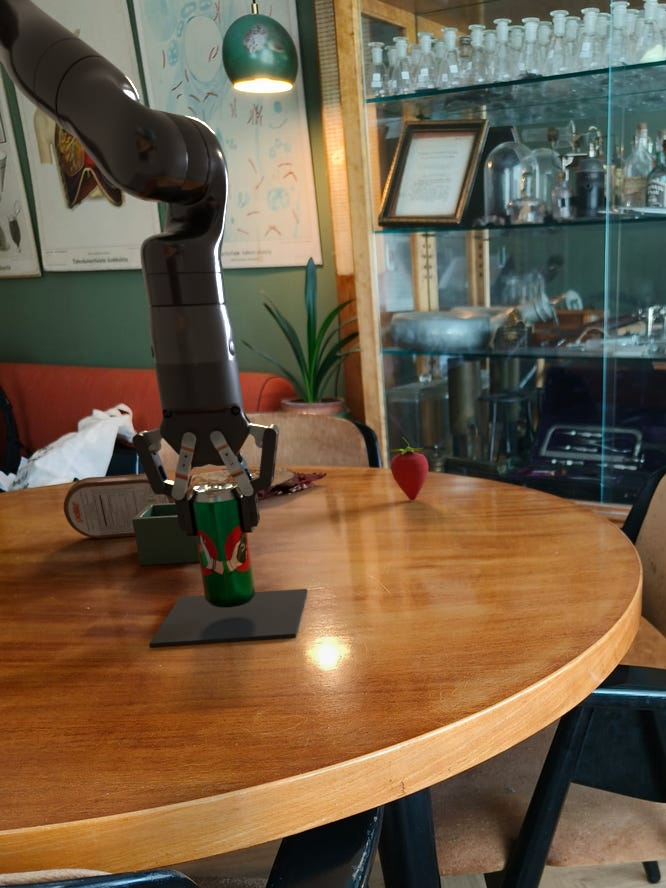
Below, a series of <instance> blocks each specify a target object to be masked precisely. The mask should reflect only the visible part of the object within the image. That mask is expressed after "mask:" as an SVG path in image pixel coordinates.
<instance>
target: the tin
mask: <svg viewBox="0 0 666 888" xmlns="http://www.w3.org/2000/svg"><path fill="white" fill-rule="evenodd" d="M164 503H175V501H174V499H173V498H172V497H170V496H167V495H163V494H161V495H157V494H155V493H154V492H153V490H152V488H151V486H150V483H149V481H148V478H147V476H146V474H145V473H144V474H143V473H142V474H141V473H140V474H125V475H109V476H90V477H85V478H82V479H80V480H77V481H76V482H75V483H73V484H72V485H71V486H70V488H69V489H68V491H67V493H66V496H65V497H64V501H63V513H64V517H65V519H66V520H67V522H68V524H69V525H70V527H72V529H73V530H75V532H77V533H79V534H81V535H82V536H85V537H87V538H92V539H110V538H120V537H135V533H134V528H133V523H132V519H133V518H134V517H135V516H136V515H137V514H138V513H139V512H140V511H142V510H143V509H144V508H145V507H146V506H147V505H148V504H164Z"/></svg>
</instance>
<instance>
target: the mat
mask: <svg viewBox="0 0 666 888" xmlns="http://www.w3.org/2000/svg"><path fill="white" fill-rule="evenodd" d="M307 595H308V589H307V588H298V589H282V590H279V589H278V590H265V591H264V590H263V591H255V596H254V597H253V599H252V600H251V601H250V602H248V603H246V604H244V605H241V606H236V607H228V608H221V607H215V606H212V605H211V604H210V603H209V602H207V601H206V599H205V594H202V595H187V596H179V598H178V599H177V601H176V602H175V603H174V605H173V607H172V609H171V610H170V611H169V613H168V614H167V616H166V617H165V619H164V620H163V622H162V623H161V624H160V626H159V627H158V629H157V631H156V633H155V634H154V635H153V637H152V638H151V640H150V641H149V643H148V645H149V648H157V647H158V648H160V647H171V646H173V647H174V646H188V645H200V644H202V645H203V644H216V643H233V642H245V641H246V642H247V641H262V640H274V639H275V640H276V639H290V638H291V639H293V638H296V637H297V633H298V631H299V626H300V622H301V618H302V614H303V612H304V611H303V610H304V607H305V602H306V598H307Z"/></svg>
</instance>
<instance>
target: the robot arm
mask: <svg viewBox="0 0 666 888" xmlns="http://www.w3.org/2000/svg"><path fill="white" fill-rule="evenodd" d="M0 63H1V64H2V65H3V67H4V69H5V71H6V73H7V75H8V76H9V78H10V80H11V81H12V82H13V84H14V85H15V86H16V88H17V89H18V90H19V92H20V93H22V95H23V96H24V97H25V98H26V99H27V100H28V101H29V102H30V103H32V104H33V106H35V107H36V108H37V109H39V111H41V112H42V113H43V114H44V115H46V116H47V117H48V118H49V119H51V120H52V121H53V122H54V123H56V124H57V125H58V126H59V127H60V128H62V129H63V130H65V131H66V132H67V133H68V134H70V135H71V136H73V137H74V138H75V139H76V140H77V141H78V142H79V144H80V145H81V147H82V148H83V150H84V151H85V153H86V155H88V156H89V158H90V159H91V160H92V162H93V163H94V164H95V166H96V167H97V168H98V170H99V171H100V172H101V173H102V175H103V176H105V178H106V179H107V180H108V181H109V182H110V183H111V184H112V185H114V186H116V188H118V189H119V190H121V191H122V192H124V193H125V194H127V195H128V196H129V195H130V196H131V197H133V198H135V199H138V200H141V201H145V202H151V203H163V204H166V209H165V210H166V212H165V222H164V227H163V231H162V232H159V233H156V234H153V235H150V236H147V238H145V239H144V240H143V241H142V243H141V245H140V251H139V254H140V255H139V256H140V264H141V265H140V266H141V269H142V270H141V271H142V275H143V276H142V277H143V284H144V289H145V296H146V303H147V306H148V307H147V309H148V311H147V312H148V329H149V330H148V332H149V339H150V353H151V357H152V359H153V364H154V370H155V371H154V372H155V376H156V382H157V390H158V396H159V401H160V407H161V413H162V418H161V423H160V424H159V428H155V429H151V430H148V431H147V430H141V431H139V432H136V434H135V435H133V437H132V439H131V442H132V444H133V447H134V449H135V453H136V454H137V457H138V459H139V461H140V464H141V466H142V468H143V471H144V474H146V476H147V478H148V481H149V483H150V486H151V488H152V490H153V492H154V493H155V494H157V495H161V494H163V495H167V496H170V497H172V498H173V499H174V501H175V505H176V512H177V518H178V524H179V527H180V529H181V531H186V534H187V536H195V529H194V522H193V516H192V509H191V503H190V499H191V497H192V496H190V493H189V490H190V486H191V481H192V477H193V475H195V471H196V468H202V467H206V466H208V465H211V466H217V467H226V469H228V471H229V473H230V475H231V476H232V477H233V478H234V480H235V481H236V483H237V485H238V487H239V489H240V491H241V493H242V496H241V497H240V500H241V507H242V515H243V522H244V530H245V533H248V534H249V533H250V534H251V533H254V531H255V530H256V529H255V527H256V528H257V527H258V525H259V524H260V520H261V515H260V508H259V503H258V502H259V501H258V498H257V493H258V492H259V491H261V490H263V489H268V488H269V487H270V486H271V484H272V482H273V480H274V473H275V469H276V463H277V455H278V445H279V436H280V429H279V427H278V425H276V424H269V425H268V426H267V425H262V424H258V423H257V424H256V423H252V422H251V421H250V419H249V417H248V416H247V415H246V414H247V413H246V412H245V408H244V401H243V400H244V399H243V393H242V386H241V385H242V384H241V377H240V371H239V370H240V369H239V362H238V352H237V346H236V339H235V331H234V327H233V322H232V318H231V314H230V311H229V306H228V304H227V303H228V298H227V289H226V282H225V274H224V269H223V264H222V263H223V262H222V250H223V243H224V238H225V229H226V228H225V227H226V217H227V205H228V197H229V194H228V193H229V170H228V163H227V160H226V155H225V151H224V149H223V147H222V145H221V143H220V141H219V139H218V137H217V135H216V134H215V132H214V131H213V130H212V129H211V127H209V126H208V125H207V124H206V123H205V122H204V121H201V120H200V119H198V118H195V117H193V116H192V117H191V116H187V115H184V114H183V115H182V114H177V113H172V112H167V111H163V110H158V109H154V108H150V107H148V106H146V105H144V104H143V103H141V102H140V97H139V94H138V92H137V89H136V87H135V86H134V84H133V83H132V81H131V80H130V79H129V77H127V75H126V74H125V73H124V72H123V71H122V70H121V69H119V68H118V67H117V66H116V65H115V64H114V63H113V62H111V61H110V60H109V59H107V58H106V57H105V56H104V55H102V54H101V53H99V51H97V50H96V49H94V48H93V47H92V46H91V45H90V44H88V43H86V42H85V41H84V40H83V39H82V38H80V37H79V36H78V35H76V34H75V33H74V32H72V31H71V30H69V29H68V28H67V27H65V26H64V25H63V24H61V23H60V22H58V21H57V20H56V19H55V18H53V17H52V16H51V15H50V14H48V13H47V12H45V11H44V10H43V9H42V8H40V7H39V6H38V5H37V4H35V3H34V2H33V1H32V0H0ZM250 435H251V436H252V437H253V438H254V444H255V445H256V448H259V449H261V455H260V463H259V465H260V466H259V467H260V473H259V476H257V477H255V478H253V476H252V475H251V473H250V471H249V469H248V467H249V466H248V463H247V461H246V458H244V455H243V453H242V451H241V449H242V448H243V446H244V444H245V443H246V441H247V439H248V437H249V436H250ZM162 440H164V441H165V442H166V443H167V445H168V446H169V447H171V449H172V450H173V451H174V452H175V453H176V454H177V455H178V460H177V464H176V469H175V473H174V475H175V477H174V480H175V481H172V480H171V479H169V476H168V474H167V471H166V468H165V467H164V463H163V462H162V458H161V456H160V454H159V452H160V451H161V450H162Z"/></svg>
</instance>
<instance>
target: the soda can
mask: <svg viewBox="0 0 666 888" xmlns="http://www.w3.org/2000/svg"><path fill="white" fill-rule="evenodd" d="M237 488H238V486H237V484H234V483H209V484H203V485H199V486H196V487H194V488H193V492H194V493H193V495H192V497H191V499H190V503H191V509H192V516H193V522H194V529H195V535H196V542H197V548H198V554H199V561H200V562H199V566H200V573H201V580H202V587H203V591H204V592H203V593H204V595H205V599H206V601H207V602H209V603H210V604H211V605H212V606H215V607H221V608H228V607H236V606H241V605H244V604H246V603H248V602H250V601H251V600H252V599H253V597H254V596H255V592H256V586H255V585H256V584H255V579H254V571H253V564H252V557H251V550H250V542H249V541H250V540H249V533H245V530H244V522H243V515H242V507H241V500H240V497H241V496H242V494H241V493H240V492H239V490H238V489H237Z"/></svg>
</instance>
